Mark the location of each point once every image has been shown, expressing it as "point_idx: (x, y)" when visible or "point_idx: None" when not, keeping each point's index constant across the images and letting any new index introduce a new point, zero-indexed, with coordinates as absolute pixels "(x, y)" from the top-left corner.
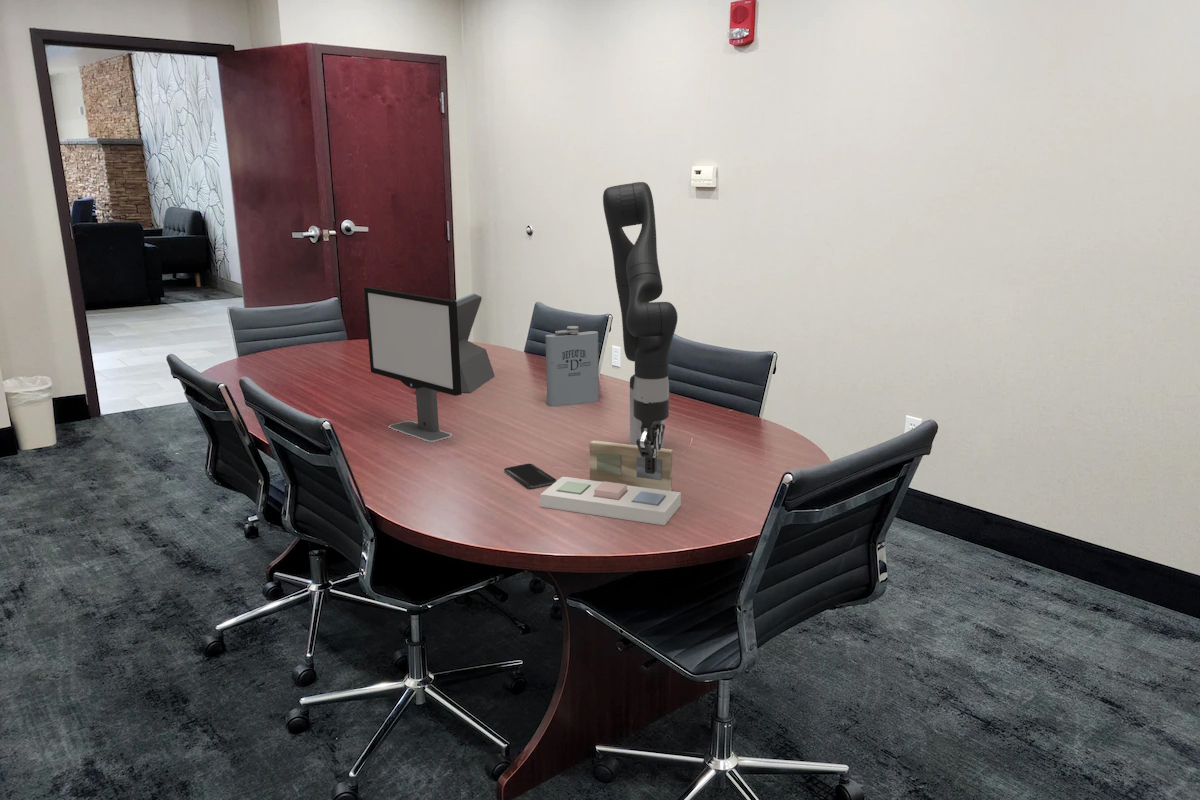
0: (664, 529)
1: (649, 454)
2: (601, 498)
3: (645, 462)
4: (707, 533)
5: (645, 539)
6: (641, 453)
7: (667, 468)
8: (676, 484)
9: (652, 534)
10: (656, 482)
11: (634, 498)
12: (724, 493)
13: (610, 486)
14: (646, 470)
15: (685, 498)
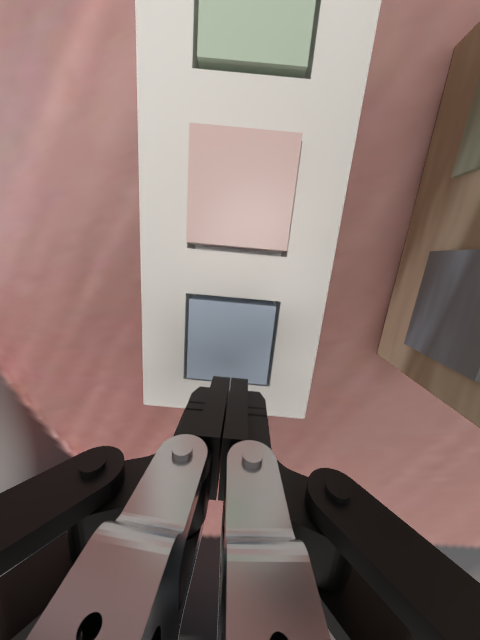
0: (137, 387)
1: (28, 563)
2: (182, 176)
3: (204, 408)
4: None
5: (65, 358)
6: (12, 501)
7: (437, 386)
8: None
9: (99, 367)
10: (404, 324)
11: (206, 300)
12: (392, 474)
13: (247, 187)
14: (194, 392)
15: (344, 398)
